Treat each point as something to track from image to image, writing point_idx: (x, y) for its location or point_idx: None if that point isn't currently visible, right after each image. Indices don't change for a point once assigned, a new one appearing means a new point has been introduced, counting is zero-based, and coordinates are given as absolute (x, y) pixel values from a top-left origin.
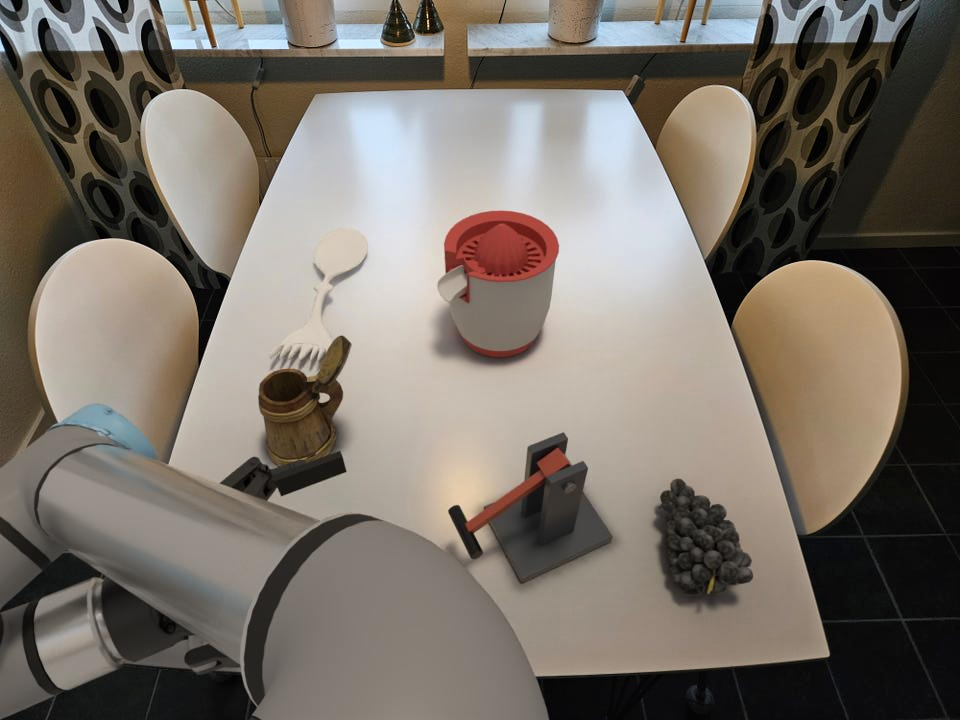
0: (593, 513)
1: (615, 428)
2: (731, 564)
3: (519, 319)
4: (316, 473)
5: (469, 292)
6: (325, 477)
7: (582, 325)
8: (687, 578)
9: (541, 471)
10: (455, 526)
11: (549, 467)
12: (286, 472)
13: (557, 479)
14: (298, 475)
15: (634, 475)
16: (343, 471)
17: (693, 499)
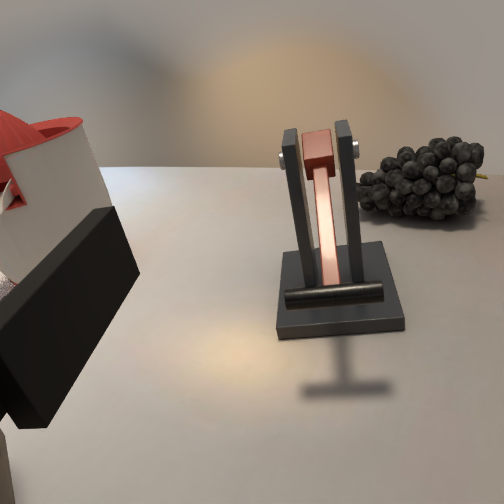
0: (346, 246)
1: (258, 225)
2: (472, 143)
3: (95, 196)
4: (91, 280)
5: (18, 186)
6: (114, 299)
7: (137, 221)
8: (466, 184)
9: (315, 166)
10: (318, 302)
11: (320, 148)
12: (5, 306)
13: (349, 131)
14: (53, 293)
15: (316, 225)
16: (134, 271)
17: (384, 162)
